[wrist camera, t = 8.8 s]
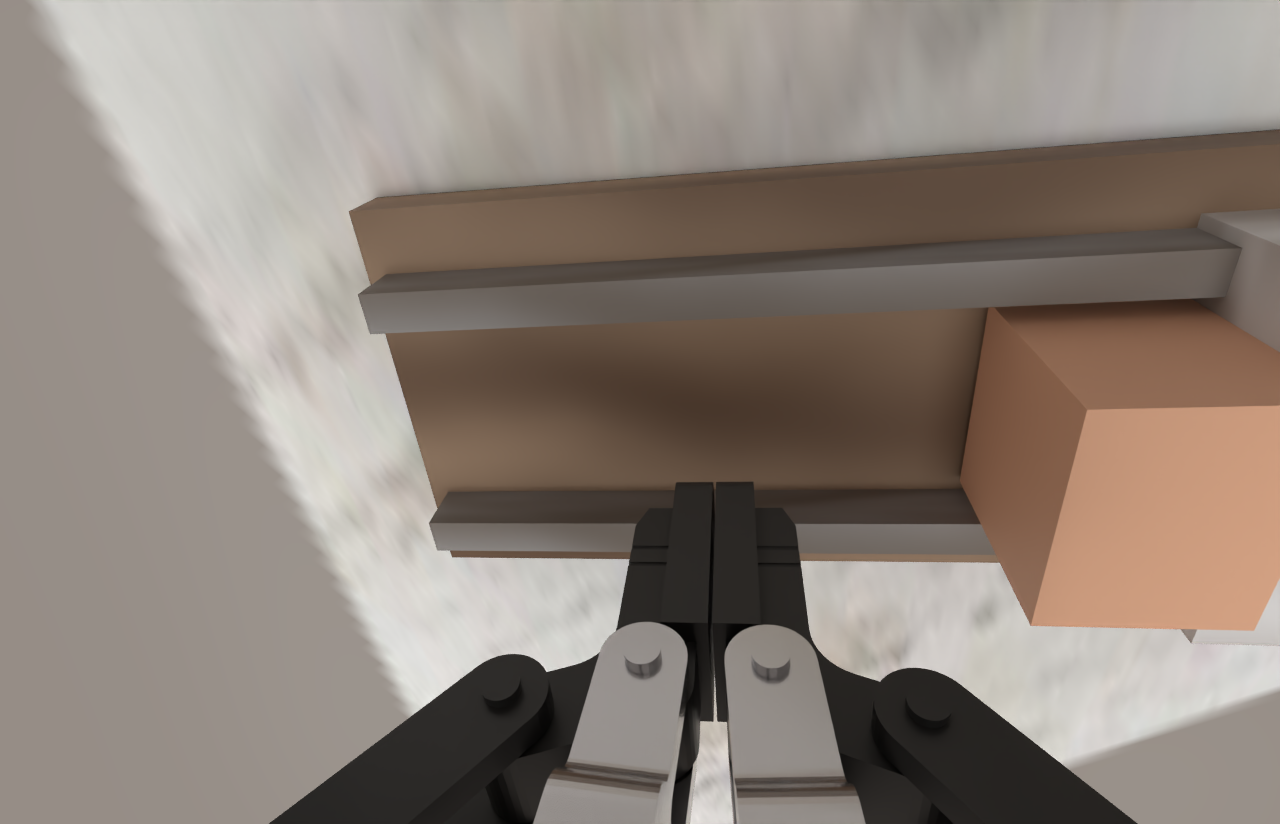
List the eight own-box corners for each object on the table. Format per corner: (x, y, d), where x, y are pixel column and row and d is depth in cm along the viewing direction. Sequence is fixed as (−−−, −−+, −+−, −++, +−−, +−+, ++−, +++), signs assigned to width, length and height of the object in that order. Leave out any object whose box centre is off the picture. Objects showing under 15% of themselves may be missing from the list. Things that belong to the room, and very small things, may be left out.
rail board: (376, 197, 18) (247, 261, 13) (1334, 125, 14) (1626, 175, 10) (467, 527, 23) (399, 657, 18) (1182, 529, 20) (1323, 688, 15)
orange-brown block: (989, 302, 16) (1087, 410, 11) (1183, 293, 15) (1365, 403, 11) (960, 481, 18) (1031, 625, 14) (1124, 479, 17) (1254, 630, 13)
